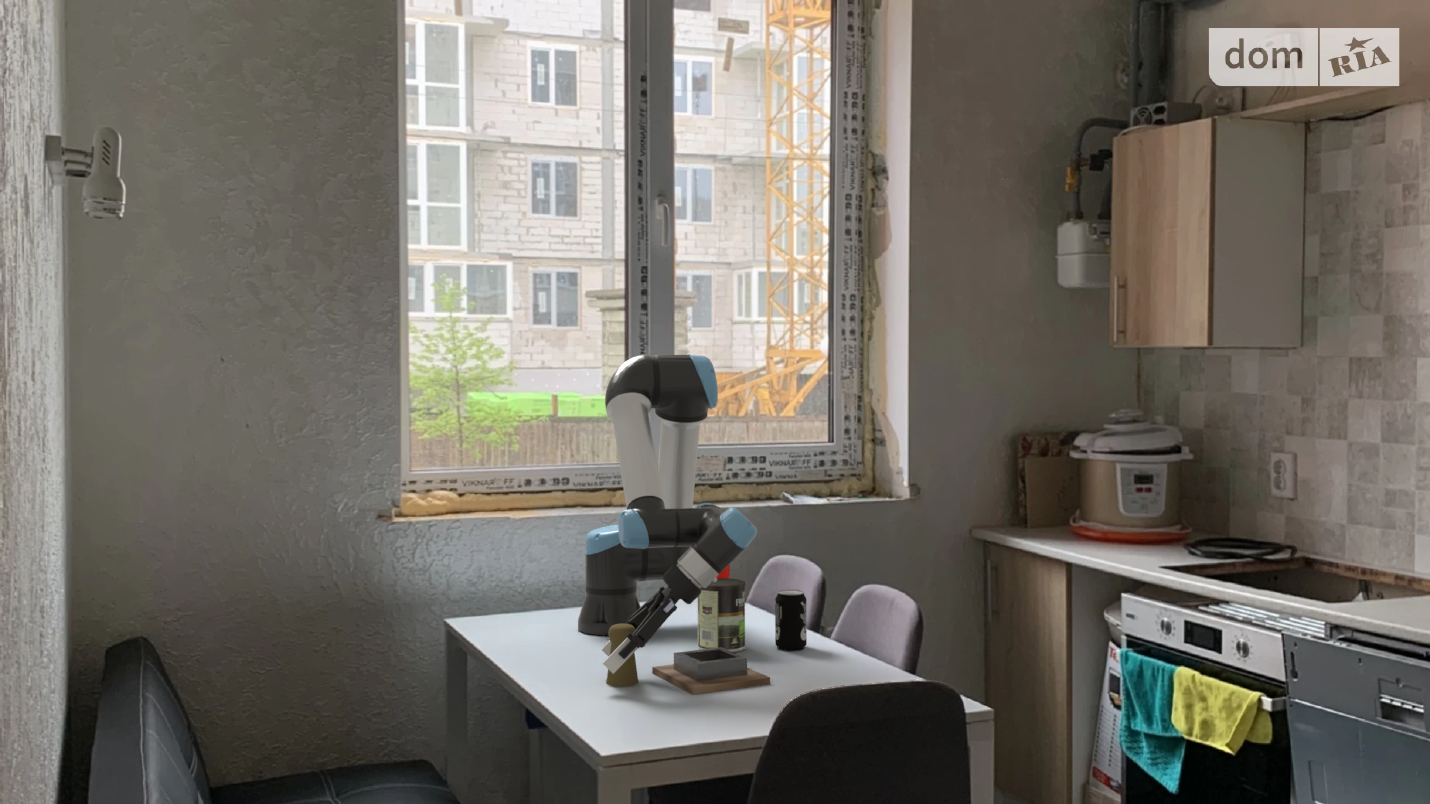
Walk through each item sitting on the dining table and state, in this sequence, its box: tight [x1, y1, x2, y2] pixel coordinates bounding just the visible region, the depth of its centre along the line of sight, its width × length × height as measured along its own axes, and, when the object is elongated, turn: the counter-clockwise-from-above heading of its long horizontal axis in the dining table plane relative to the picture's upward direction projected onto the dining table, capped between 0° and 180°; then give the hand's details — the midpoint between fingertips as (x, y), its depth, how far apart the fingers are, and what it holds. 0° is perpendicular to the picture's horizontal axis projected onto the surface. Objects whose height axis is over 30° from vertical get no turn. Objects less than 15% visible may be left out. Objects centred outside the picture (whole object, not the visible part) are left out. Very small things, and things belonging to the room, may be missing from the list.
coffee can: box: [696, 577, 746, 653], centre depth 258 cm, size 10×10×14 cm
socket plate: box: [651, 647, 771, 695], centre depth 232 cm, size 18×16×4 cm
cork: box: [606, 624, 639, 688], centre depth 229 cm, size 6×6×11 cm
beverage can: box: [774, 588, 808, 652], centre depth 258 cm, size 7×7×12 cm
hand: (607, 661), depth 229 cm, fingers open, 11 cm apart
